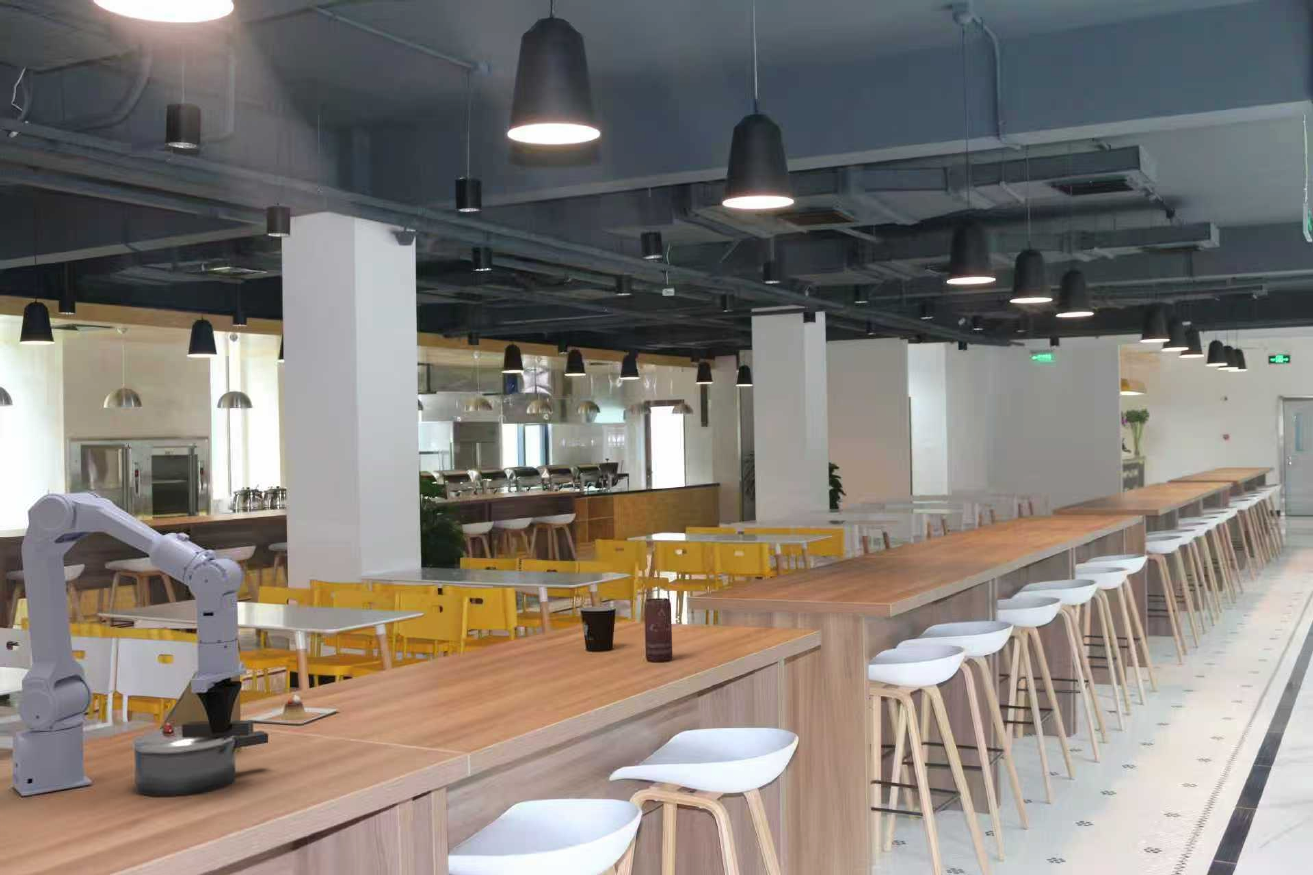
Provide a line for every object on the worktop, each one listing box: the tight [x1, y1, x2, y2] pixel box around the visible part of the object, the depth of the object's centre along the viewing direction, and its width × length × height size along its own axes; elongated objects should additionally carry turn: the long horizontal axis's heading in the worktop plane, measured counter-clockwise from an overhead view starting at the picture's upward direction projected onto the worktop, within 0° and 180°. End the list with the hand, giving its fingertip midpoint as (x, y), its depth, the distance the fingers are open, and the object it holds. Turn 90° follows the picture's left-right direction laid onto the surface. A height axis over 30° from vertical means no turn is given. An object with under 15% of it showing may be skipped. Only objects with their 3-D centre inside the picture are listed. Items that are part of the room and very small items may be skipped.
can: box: [643, 597, 673, 663], centre depth 277 cm, size 6×6×14 cm
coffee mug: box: [580, 606, 617, 653], centre depth 296 cm, size 12×9×10 cm
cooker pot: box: [134, 730, 269, 798], centre depth 182 cm, size 19×14×6 cm
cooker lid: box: [132, 719, 254, 754], centre depth 181 cm, size 17×14×3 cm
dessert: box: [246, 694, 341, 726], centre depth 226 cm, size 12×12×5 cm
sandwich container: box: [158, 670, 242, 754], centre depth 201 cm, size 9×15×15 cm, turn 56°
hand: (220, 732), depth 179 cm, fingers closed, pressing on cooker lid
